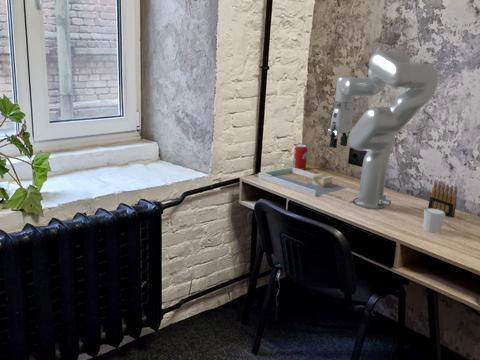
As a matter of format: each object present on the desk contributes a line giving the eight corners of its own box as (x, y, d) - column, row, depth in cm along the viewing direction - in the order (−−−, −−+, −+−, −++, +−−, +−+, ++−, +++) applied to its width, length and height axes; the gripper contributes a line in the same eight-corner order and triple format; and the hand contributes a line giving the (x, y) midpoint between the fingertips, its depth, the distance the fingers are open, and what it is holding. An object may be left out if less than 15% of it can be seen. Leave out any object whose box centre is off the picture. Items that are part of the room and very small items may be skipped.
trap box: (346, 191, 212) (347, 182, 211) (314, 199, 198) (315, 190, 197) (290, 173, 235) (291, 166, 233) (257, 180, 220) (258, 172, 219)
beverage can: (306, 171, 242) (308, 147, 238) (293, 170, 242) (295, 146, 238) (304, 168, 248) (307, 144, 244) (292, 167, 248) (294, 143, 244)
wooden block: (331, 185, 214) (332, 176, 213) (322, 187, 210) (323, 178, 209) (320, 182, 218) (321, 173, 217) (311, 184, 214) (312, 175, 213)
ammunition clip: (427, 208, 196) (432, 179, 193) (430, 208, 197) (435, 179, 194) (451, 217, 188) (457, 187, 184) (454, 216, 189) (460, 186, 185)
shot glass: (444, 230, 173) (448, 211, 171) (437, 235, 168) (441, 215, 166) (425, 224, 177) (429, 206, 175) (418, 229, 172) (421, 210, 170)
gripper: (338, 107, 203) (333, 150, 207) (362, 106, 214) (356, 146, 219) (323, 105, 208) (319, 146, 213) (347, 103, 219) (342, 143, 224)
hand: (338, 146), depth 216 cm, fingers open, 6 cm apart
